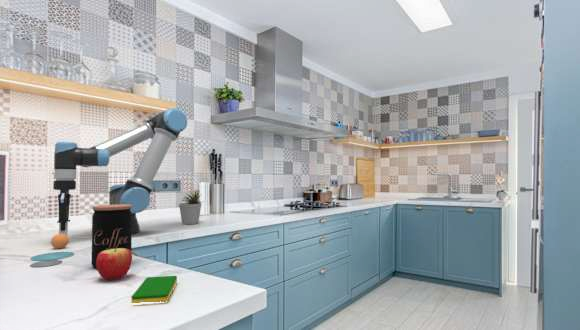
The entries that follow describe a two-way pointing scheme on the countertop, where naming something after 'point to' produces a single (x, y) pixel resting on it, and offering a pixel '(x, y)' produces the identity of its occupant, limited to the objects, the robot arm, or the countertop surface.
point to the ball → (59, 241)
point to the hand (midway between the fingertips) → (63, 238)
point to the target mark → (52, 256)
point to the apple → (114, 262)
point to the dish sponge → (155, 289)
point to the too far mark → (46, 263)
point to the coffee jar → (111, 228)
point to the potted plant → (190, 210)
